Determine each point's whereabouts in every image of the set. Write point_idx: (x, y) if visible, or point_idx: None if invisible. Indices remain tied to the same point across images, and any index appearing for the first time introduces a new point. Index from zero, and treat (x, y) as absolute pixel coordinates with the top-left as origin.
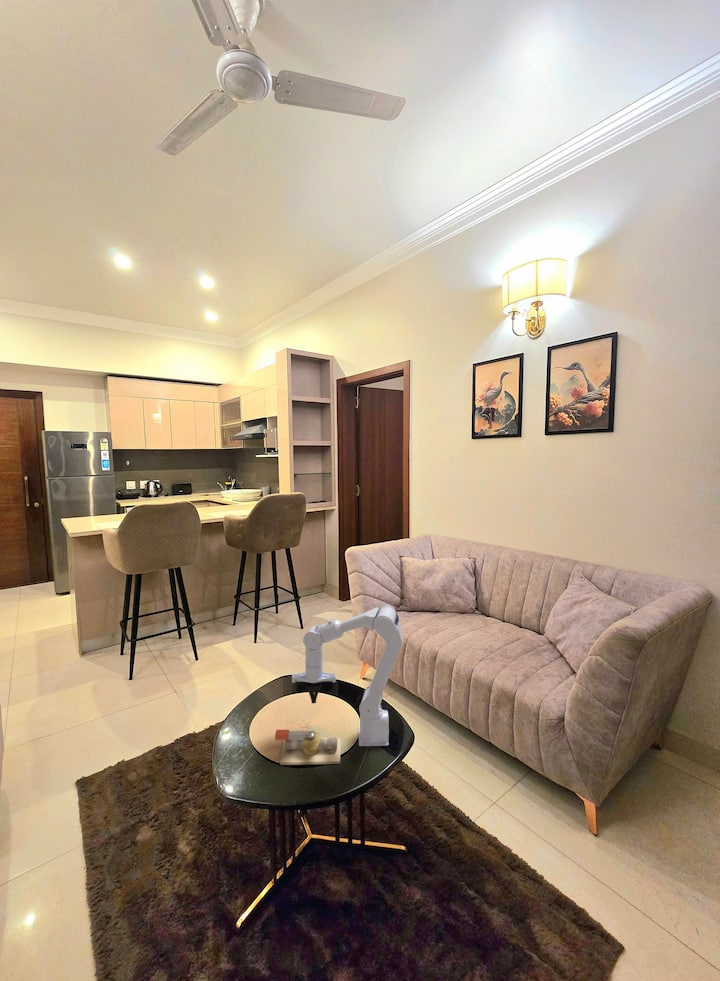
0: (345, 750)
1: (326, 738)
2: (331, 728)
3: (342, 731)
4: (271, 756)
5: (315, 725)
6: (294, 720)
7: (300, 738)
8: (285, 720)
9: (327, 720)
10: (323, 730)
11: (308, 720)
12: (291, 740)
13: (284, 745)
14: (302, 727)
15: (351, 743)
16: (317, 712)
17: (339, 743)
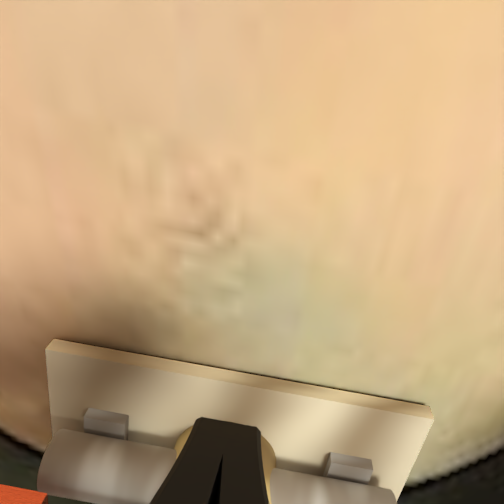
0: (432, 470)
1: (334, 408)
2: (400, 287)
3: (476, 332)
4: (6, 417)
5: (276, 228)
6: (92, 129)
7: (153, 369)
8: (12, 113)
9: (392, 187)
10: (332, 294)
11: (219, 153)
12: (77, 495)
13: (56, 399)
14: (168, 230)
15: (492, 436)
16: (318, 42)
17: (410, 458)
